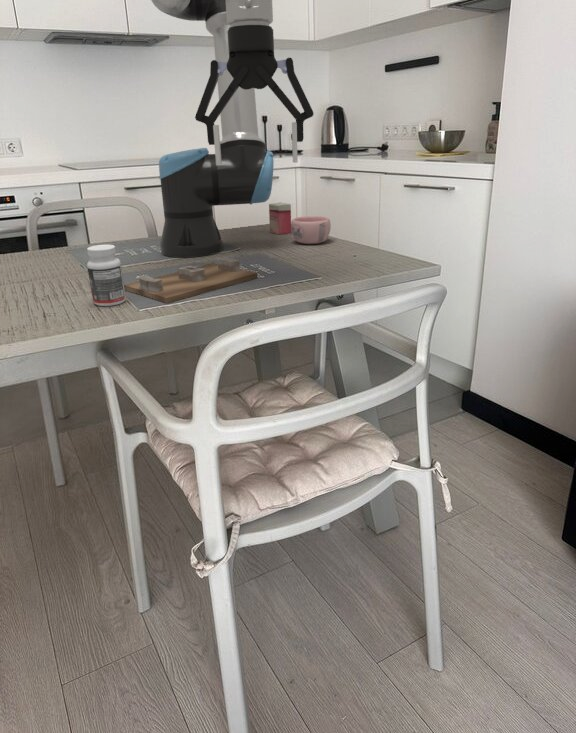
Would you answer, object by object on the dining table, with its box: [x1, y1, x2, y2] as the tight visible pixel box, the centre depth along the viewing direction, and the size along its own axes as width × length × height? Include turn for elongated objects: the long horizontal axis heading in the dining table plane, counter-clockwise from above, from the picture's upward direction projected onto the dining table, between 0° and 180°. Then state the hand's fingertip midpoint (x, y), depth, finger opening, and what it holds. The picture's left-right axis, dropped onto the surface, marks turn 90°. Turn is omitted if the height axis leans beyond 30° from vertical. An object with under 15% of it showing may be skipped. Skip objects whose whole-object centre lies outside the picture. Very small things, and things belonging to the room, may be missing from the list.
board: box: [124, 257, 258, 304], centre depth 112 cm, size 14×22×3 cm, turn 136°
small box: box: [268, 202, 292, 235], centre depth 159 cm, size 5×4×8 cm
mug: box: [291, 215, 332, 245], centre depth 146 cm, size 12×10×6 cm
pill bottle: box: [86, 244, 127, 307], centre depth 101 cm, size 6×6×10 cm
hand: (257, 163), depth 102 cm, fingers open, 13 cm apart
